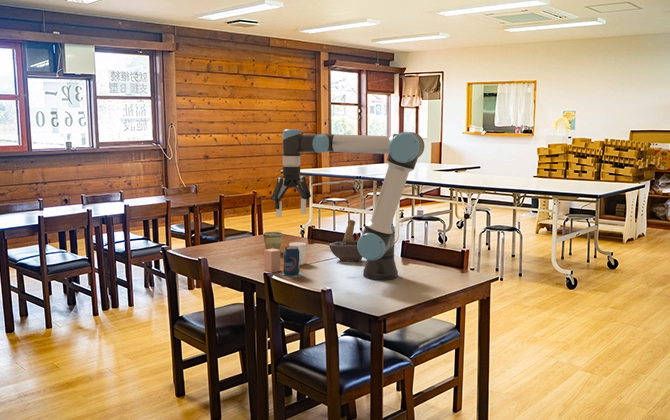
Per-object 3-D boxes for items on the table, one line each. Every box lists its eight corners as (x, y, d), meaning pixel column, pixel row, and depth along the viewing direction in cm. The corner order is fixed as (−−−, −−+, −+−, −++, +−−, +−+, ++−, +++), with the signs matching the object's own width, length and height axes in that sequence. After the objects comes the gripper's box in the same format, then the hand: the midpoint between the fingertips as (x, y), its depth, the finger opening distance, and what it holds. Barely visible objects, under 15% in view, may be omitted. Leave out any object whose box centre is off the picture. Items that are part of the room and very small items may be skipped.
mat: (309, 276, 273) (309, 274, 272) (289, 280, 265) (289, 279, 265) (291, 271, 281) (291, 270, 281) (272, 275, 274) (272, 273, 274)
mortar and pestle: (372, 261, 305) (373, 220, 302) (346, 265, 294) (347, 223, 291) (352, 255, 316) (353, 216, 313) (327, 260, 305) (327, 219, 303)
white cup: (303, 266, 291) (303, 245, 289) (287, 265, 292) (287, 244, 291) (307, 263, 298) (307, 242, 297) (291, 262, 300) (291, 241, 298)
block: (280, 272, 280) (280, 250, 278) (271, 273, 276) (271, 251, 275) (273, 270, 283) (273, 248, 282) (264, 271, 280) (264, 249, 279)
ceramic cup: (274, 255, 315) (274, 235, 314) (259, 253, 321) (259, 233, 319) (289, 251, 326) (289, 232, 325) (274, 248, 332) (274, 230, 330)
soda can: (281, 276, 270) (281, 248, 268) (285, 272, 277) (285, 245, 275) (297, 276, 269) (297, 249, 267) (300, 273, 276) (300, 246, 274)
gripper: (307, 164, 277) (307, 211, 280) (262, 166, 260) (262, 216, 263) (319, 165, 272) (318, 213, 275) (273, 167, 255) (273, 219, 258)
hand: (291, 215), depth 269 cm, fingers open, 13 cm apart
